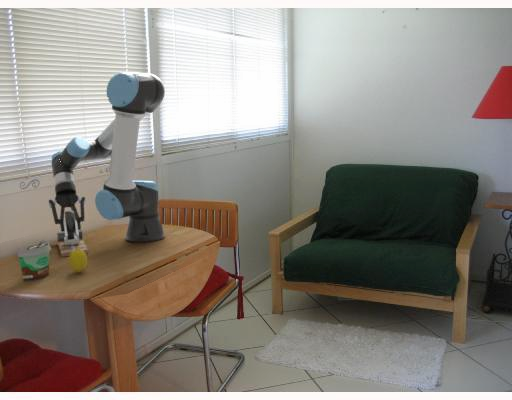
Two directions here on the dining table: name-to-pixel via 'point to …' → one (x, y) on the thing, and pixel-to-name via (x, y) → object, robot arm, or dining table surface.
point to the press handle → (70, 229)
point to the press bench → (69, 248)
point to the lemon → (78, 260)
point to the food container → (35, 261)
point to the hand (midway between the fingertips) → (72, 237)
